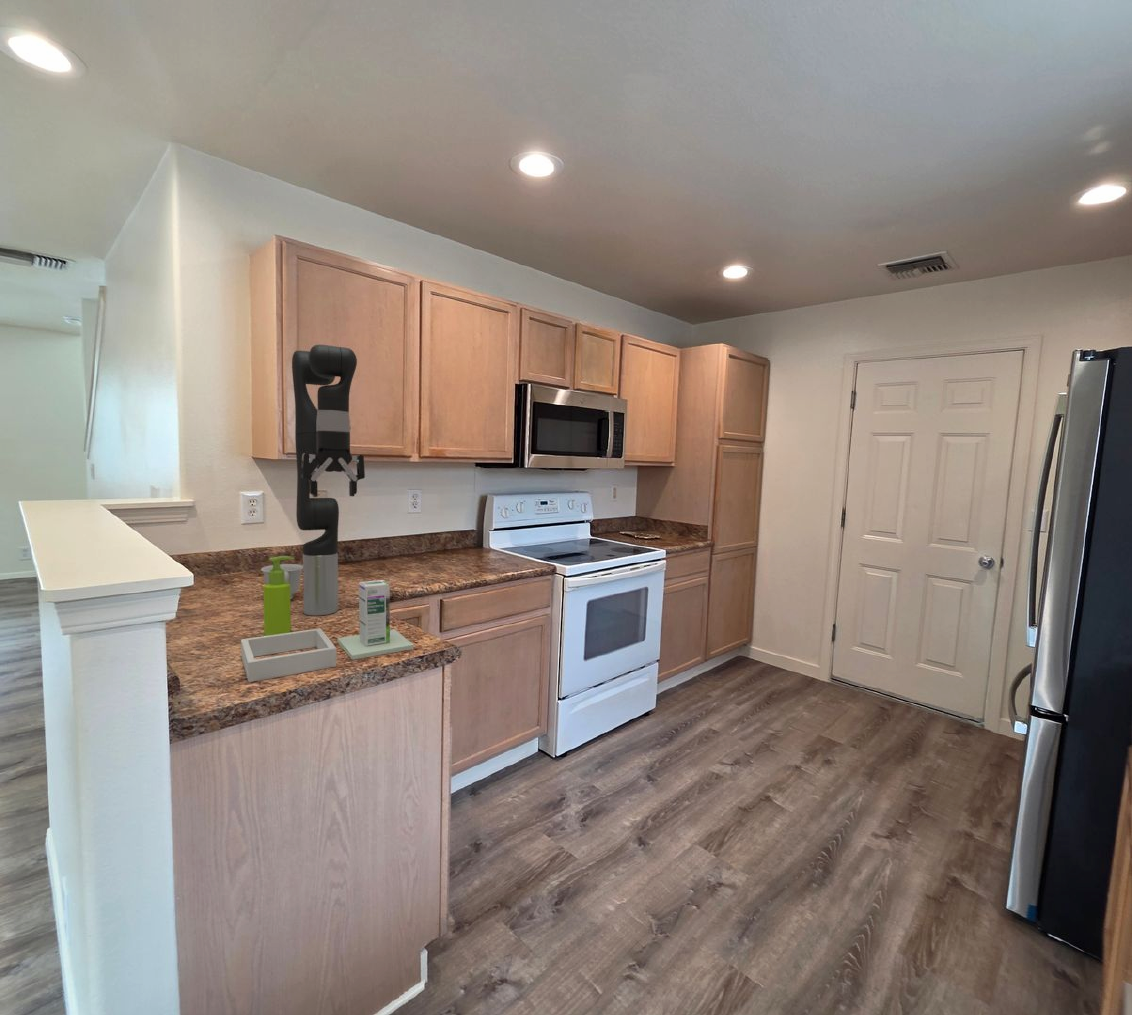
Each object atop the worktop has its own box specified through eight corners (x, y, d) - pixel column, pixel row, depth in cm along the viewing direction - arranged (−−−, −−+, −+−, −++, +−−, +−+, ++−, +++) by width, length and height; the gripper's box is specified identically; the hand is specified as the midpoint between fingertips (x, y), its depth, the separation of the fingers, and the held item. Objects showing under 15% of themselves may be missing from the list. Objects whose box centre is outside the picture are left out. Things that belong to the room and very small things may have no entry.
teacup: (264, 607, 160) (263, 574, 159) (260, 596, 173) (259, 565, 172) (308, 602, 167) (308, 570, 166) (301, 592, 179) (301, 562, 178)
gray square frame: (241, 656, 121) (241, 639, 120) (320, 644, 130) (320, 628, 130) (248, 682, 107) (248, 662, 107) (336, 666, 117) (336, 648, 116)
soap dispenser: (299, 635, 136) (298, 557, 134) (269, 641, 131) (268, 560, 129) (289, 630, 140) (288, 554, 138) (260, 636, 135) (259, 556, 133)
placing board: (337, 642, 132) (337, 638, 132) (394, 632, 140) (394, 629, 140) (352, 659, 121) (352, 655, 121) (413, 648, 129) (413, 644, 129)
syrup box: (365, 646, 126) (365, 585, 125) (358, 639, 131) (358, 580, 130) (390, 642, 130) (390, 583, 128) (382, 636, 134) (382, 578, 133)
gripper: (359, 432, 139) (359, 495, 140) (298, 428, 130) (299, 495, 132) (367, 431, 133) (367, 497, 134) (304, 428, 124) (304, 498, 126)
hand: (333, 496), depth 133 cm, fingers open, 8 cm apart
